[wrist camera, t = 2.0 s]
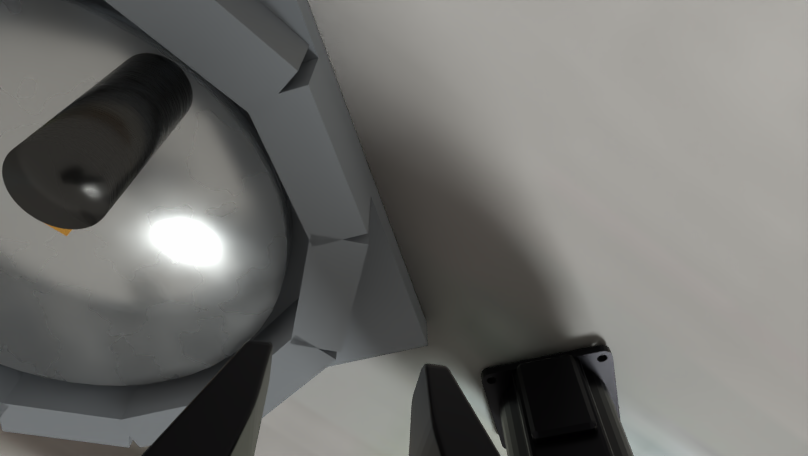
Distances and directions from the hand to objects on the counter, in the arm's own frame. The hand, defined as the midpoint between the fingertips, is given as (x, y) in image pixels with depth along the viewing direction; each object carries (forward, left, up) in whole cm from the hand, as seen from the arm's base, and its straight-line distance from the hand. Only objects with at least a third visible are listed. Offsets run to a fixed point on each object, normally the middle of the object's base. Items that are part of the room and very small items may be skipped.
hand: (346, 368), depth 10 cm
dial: (-1, +12, -11) cm, 17 cm away
